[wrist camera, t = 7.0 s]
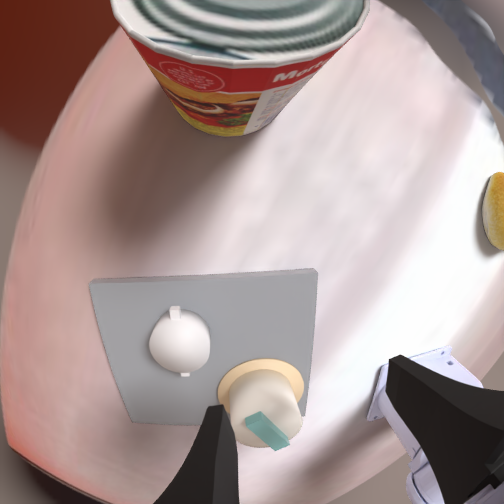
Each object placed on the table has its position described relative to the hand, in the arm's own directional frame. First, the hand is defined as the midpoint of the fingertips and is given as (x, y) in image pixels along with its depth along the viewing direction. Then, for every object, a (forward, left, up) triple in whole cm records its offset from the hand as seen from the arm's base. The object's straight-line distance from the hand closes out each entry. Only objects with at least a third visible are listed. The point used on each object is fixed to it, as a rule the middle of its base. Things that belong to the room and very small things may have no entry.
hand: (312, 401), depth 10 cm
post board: (+5, +5, -10) cm, 12 cm away
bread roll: (-26, -7, -11) cm, 29 cm away
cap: (+1, +8, -9) cm, 12 cm away
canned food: (+2, -15, -11) cm, 19 cm away
